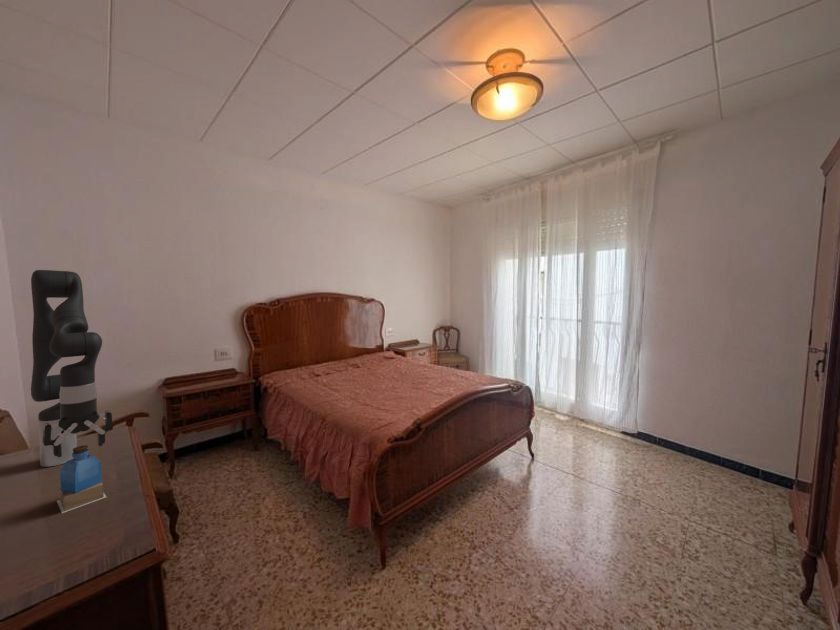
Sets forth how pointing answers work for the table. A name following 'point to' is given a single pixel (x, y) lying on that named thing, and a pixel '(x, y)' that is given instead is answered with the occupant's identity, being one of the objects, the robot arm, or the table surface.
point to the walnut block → (81, 496)
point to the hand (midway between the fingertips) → (80, 450)
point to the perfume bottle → (80, 471)
